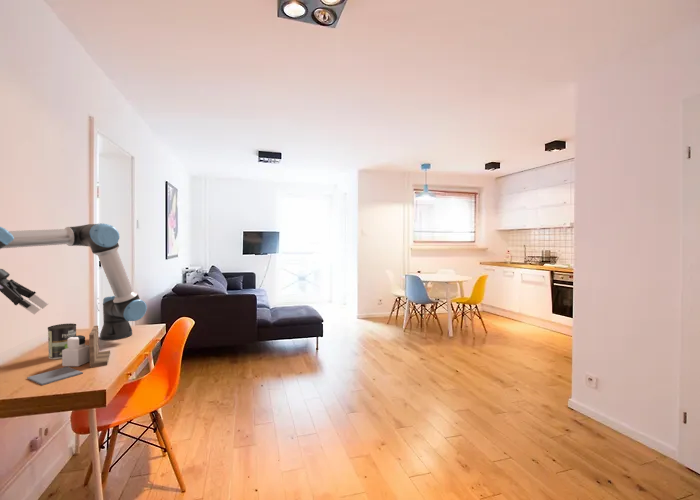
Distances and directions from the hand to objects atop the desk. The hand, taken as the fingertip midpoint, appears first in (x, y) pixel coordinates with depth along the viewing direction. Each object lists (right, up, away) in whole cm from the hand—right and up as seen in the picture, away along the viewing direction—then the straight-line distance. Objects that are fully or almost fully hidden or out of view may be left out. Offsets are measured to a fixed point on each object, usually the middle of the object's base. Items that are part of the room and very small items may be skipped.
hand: (41, 309), depth 144 cm
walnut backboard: (+17, -25, +11) cm, 32 cm away
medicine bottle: (+9, -25, +7) cm, 28 cm away
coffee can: (-5, -25, +17) cm, 31 cm away
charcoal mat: (+12, -25, -7) cm, 29 cm away
